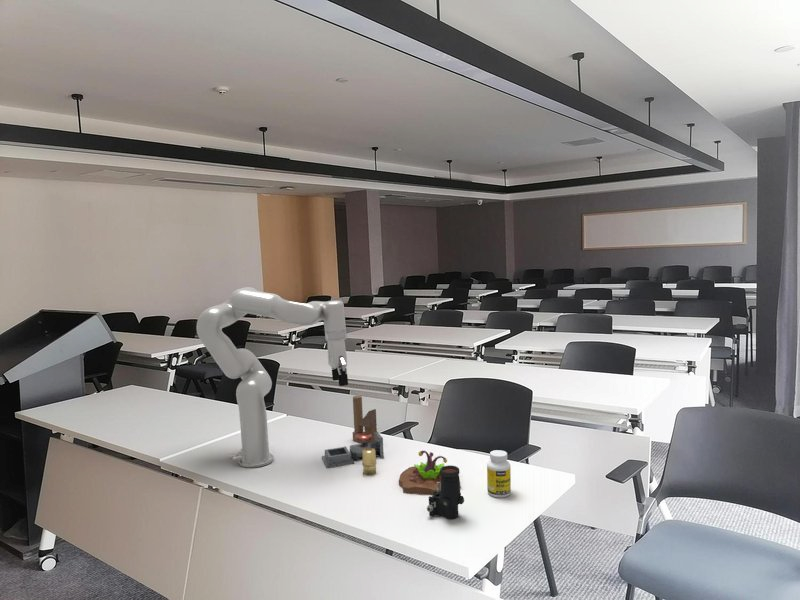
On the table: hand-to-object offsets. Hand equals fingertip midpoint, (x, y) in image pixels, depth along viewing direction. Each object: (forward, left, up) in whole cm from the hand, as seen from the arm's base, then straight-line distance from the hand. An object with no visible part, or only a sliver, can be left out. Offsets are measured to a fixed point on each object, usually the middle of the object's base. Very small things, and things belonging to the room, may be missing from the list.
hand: (340, 382), depth 206 cm
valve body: (+3, +1, -29) cm, 29 cm away
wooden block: (+12, +16, -29) cm, 35 cm away
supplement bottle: (+39, -45, -29) cm, 66 cm away
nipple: (+6, -14, -29) cm, 33 cm away
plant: (+22, -29, -30) cm, 47 cm away
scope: (+19, -52, -29) cm, 63 cm away
